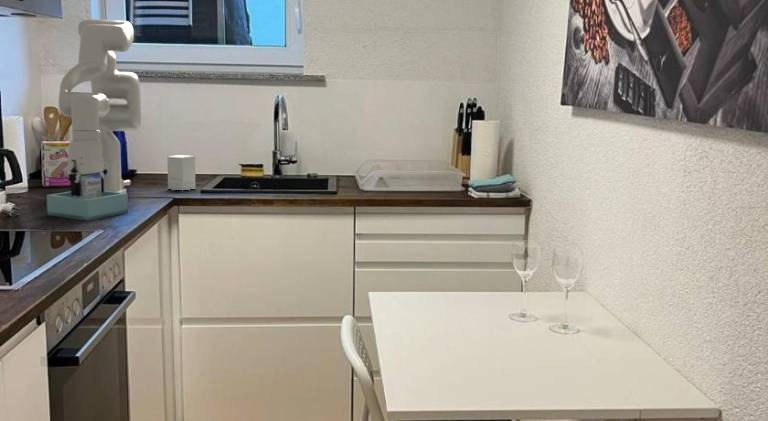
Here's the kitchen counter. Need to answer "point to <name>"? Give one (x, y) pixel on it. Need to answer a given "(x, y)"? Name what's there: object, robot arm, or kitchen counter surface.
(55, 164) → the candy bar box
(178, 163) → the supplement box
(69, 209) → the collection bin
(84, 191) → the medicine box
